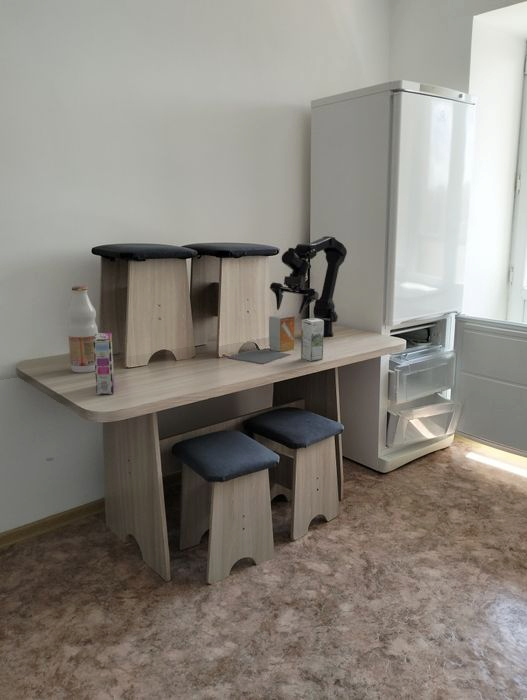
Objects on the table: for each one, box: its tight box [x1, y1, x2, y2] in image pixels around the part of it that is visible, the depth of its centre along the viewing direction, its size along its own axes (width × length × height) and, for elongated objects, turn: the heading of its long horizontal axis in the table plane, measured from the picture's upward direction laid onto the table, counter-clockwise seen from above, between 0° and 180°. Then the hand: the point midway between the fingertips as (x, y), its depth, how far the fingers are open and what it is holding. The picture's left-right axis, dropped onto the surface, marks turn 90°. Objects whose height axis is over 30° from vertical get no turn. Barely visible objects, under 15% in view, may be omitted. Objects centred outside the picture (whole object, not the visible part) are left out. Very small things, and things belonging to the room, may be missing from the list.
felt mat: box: [227, 348, 291, 365], centre depth 209 cm, size 17×16×1 cm
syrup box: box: [300, 317, 324, 362], centre depth 203 cm, size 6×6×14 cm
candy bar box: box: [93, 332, 115, 396], centre depth 168 cm, size 11×5×16 cm, turn 13°
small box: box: [268, 313, 296, 353], centre depth 219 cm, size 8×6×13 cm
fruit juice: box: [66, 285, 99, 374], centre depth 189 cm, size 9×9×28 cm
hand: (288, 311), depth 221 cm, fingers open, 9 cm apart
